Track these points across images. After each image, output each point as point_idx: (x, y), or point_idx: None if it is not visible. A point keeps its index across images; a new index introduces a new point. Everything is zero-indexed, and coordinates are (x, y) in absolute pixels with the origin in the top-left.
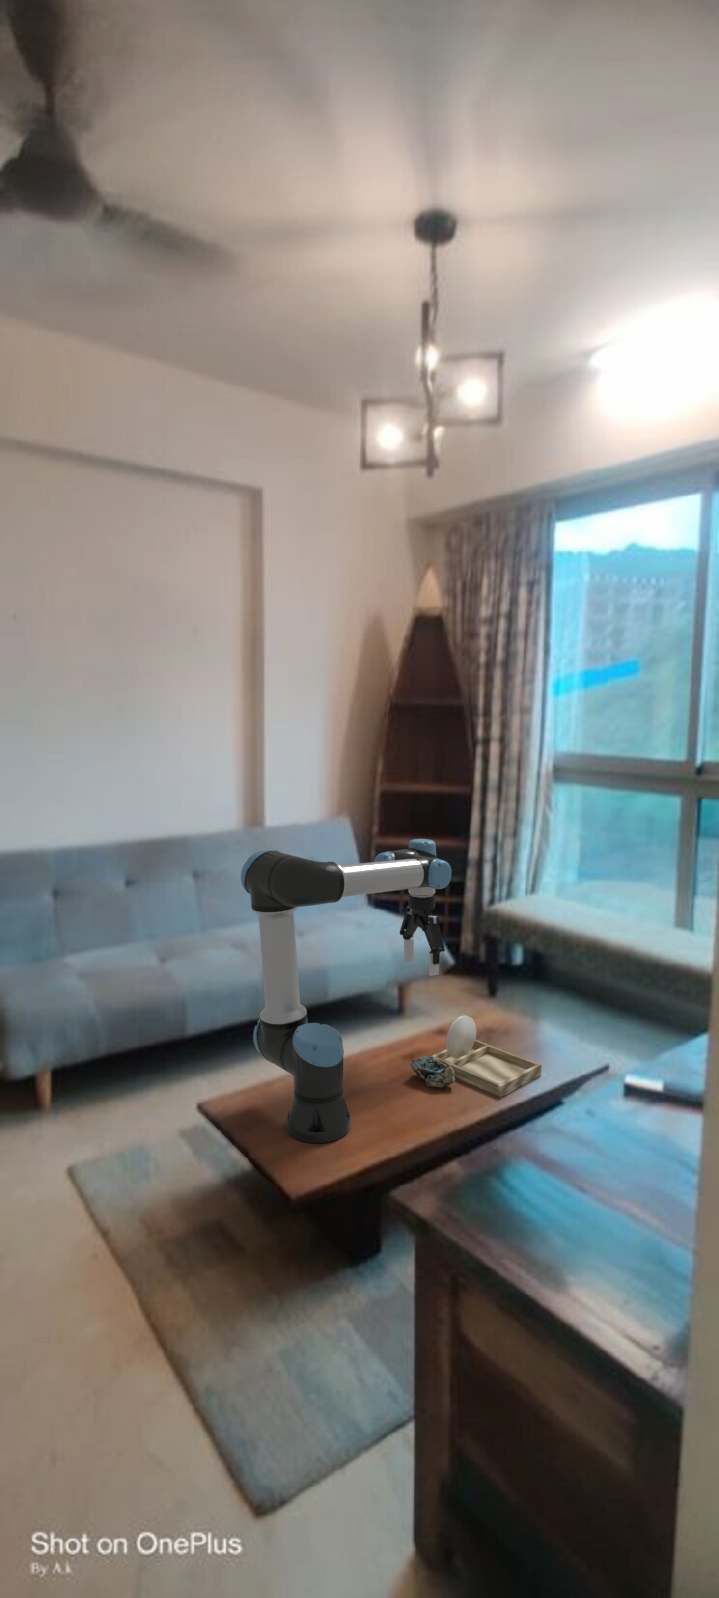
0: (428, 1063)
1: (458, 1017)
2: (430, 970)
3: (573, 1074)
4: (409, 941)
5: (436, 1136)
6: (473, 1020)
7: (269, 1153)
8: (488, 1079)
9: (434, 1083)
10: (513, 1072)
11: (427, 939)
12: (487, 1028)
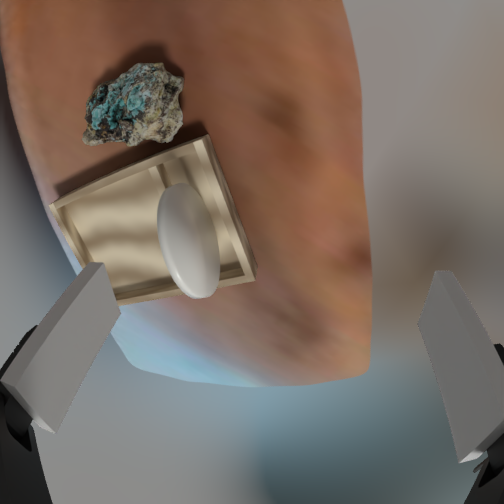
0: (117, 98)
1: (173, 262)
2: (73, 283)
3: (111, 329)
4: (475, 427)
5: (3, 51)
6: (196, 298)
7: None
8: (71, 199)
9: (93, 92)
10: (117, 263)
11: (2, 497)
12: (320, 337)
